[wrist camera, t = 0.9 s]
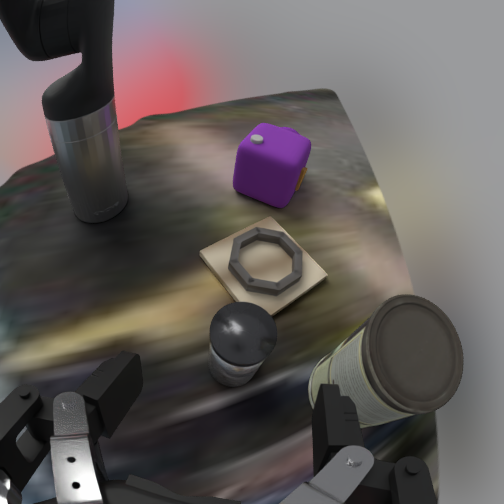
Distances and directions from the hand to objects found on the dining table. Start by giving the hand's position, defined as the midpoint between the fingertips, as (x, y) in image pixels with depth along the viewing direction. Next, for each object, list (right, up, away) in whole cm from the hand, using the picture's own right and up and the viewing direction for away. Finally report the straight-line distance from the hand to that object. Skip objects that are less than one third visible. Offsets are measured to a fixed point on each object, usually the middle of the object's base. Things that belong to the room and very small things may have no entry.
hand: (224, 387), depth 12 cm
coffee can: (+12, -10, +19) cm, 25 cm away
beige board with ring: (+3, +4, +28) cm, 28 cm away
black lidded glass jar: (-1, -6, +19) cm, 21 cm away
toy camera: (+4, +18, +39) cm, 43 cm away
